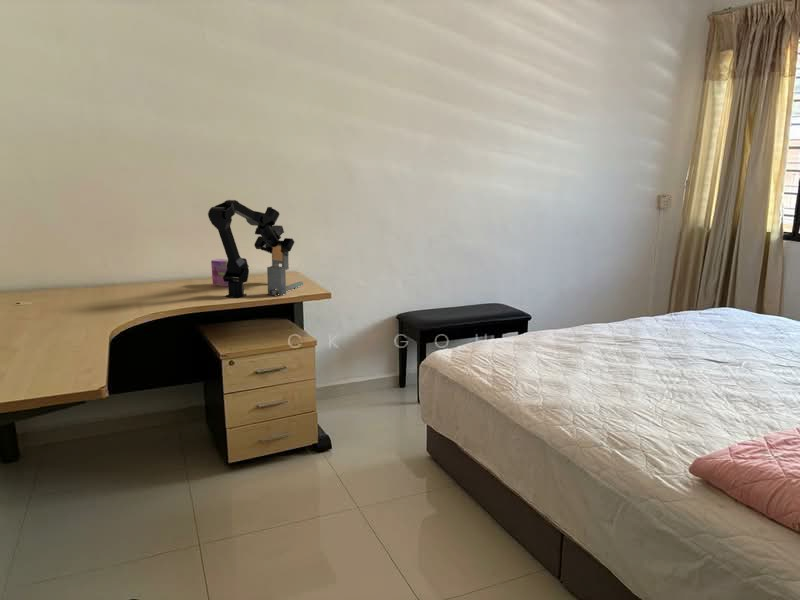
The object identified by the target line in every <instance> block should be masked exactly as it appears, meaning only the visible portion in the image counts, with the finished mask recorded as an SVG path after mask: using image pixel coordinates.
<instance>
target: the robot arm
mask: <svg viewBox="0 0 800 600" xmlns="http://www.w3.org/2000/svg"><path fill="white" fill-rule="evenodd" d="M235 214H236V215H238V216H240V217H241V218H244V219H245V220H246V221H245V222H246V223H248V224H249V225H250V226H253V227H254V226H257V227H256V228H255V231H254V235H259V236H257V238H256V240H255V242H254V244H253V245H254V248H255V249H256V250H261V251H264V252H266V253H269V254H270V255H272V247H277V245H278V246H281V252H282V253H283V254H285V255H286V256H288V257H289V256H290V255H289V252H291V250H292V248H293V246H294V244H295V240H294V239H293V238H292V237H291V238H290V237H284V239H283V240H281V238H282V237H281V236H282V235H283V234H284V233H285V230H284V227H283V225H277V224H276V222H277V221H278V218H279V217H280V212H279V211H278V210H276V209H275V208H273V207H272V206H267V207H266V210H265V213H264V212H261V211H256V210H253V209H251V208H250V207H247V206H245V205H244V204H242V203H241V202H239V201H238V200H236V199H227V200H225V201H223V202H221V203H219V204H217V205H215V206H214V205H213V206H212V207H210V209H209V210H208V212H207V216H208V219H209V222H210V223H211V225H212V226H213V227H214V228H215V229H216V230H217V231H218V234H219V237H220V240H221V243H222V246H223V249H224V251H225V255H226V257H227V259H228V263H227V271H226V273H225V275H224V276H223V280H224V282H229V283H228V287H227V290H228V294H227V295H225V297H226V298H235V299H238V298H242V297H245V296H247V293H245V290H244V289H245V288H244V284H245V283H248V279H249V274H250V273H249V272H250V270H249V267H250V266H249V264H248V261H247V258H244V257H241V256H240V253H239V250H238V246H237V243H236V241H235V238H234V237H235V236H234V234H233V231H232V228H231V225H232V221H233V219H232V217H233V216H235ZM233 277H237V278H233Z"/></svg>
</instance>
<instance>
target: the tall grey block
mask: <svg viewBox="0 0 800 600" xmlns="http://www.w3.org/2000/svg"><path fill="white" fill-rule="evenodd" d="M266 270H267V271H266V273H267V276H266V277H267V295H268V294H270V295H269V296H272V295H271V294H272V291H273V290H276V289H279V295H283V294H286V295H287V292H286V286H287V283H286V282H287V281H286V270H285V267H282V266H280V265H279V266H272V265H271V266H267V267H266ZM279 295H278V296H279ZM283 296H284V295H283Z"/></svg>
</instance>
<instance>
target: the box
mask: <svg viewBox="0 0 800 600" xmlns="http://www.w3.org/2000/svg"><path fill="white" fill-rule="evenodd" d="M210 263H211V265H210V266H211V278H212V286H213V285H222V286H221V287H227V286H228V283H229V282H224V280H223V276H224V275H225V273H226V271H227V263H228V258H227V259H224V258H215V259H211V262H210ZM233 278H237V277H233Z"/></svg>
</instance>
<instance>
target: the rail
mask: <svg viewBox="0 0 800 600" xmlns="http://www.w3.org/2000/svg"><path fill="white" fill-rule="evenodd" d="M301 285H303V286H304V282H303V281H297V282H296V281H295V282H294V283H292V284H288V285H286V291H288V290H291V289H294V288H296V287H298V286H301ZM294 290H295V289H294ZM291 291H292V290H291ZM288 292H289V291H288ZM278 294H279V289H275V290H273V291H272V295H278ZM272 295H271V296H272ZM278 296H279V295H278Z"/></svg>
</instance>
